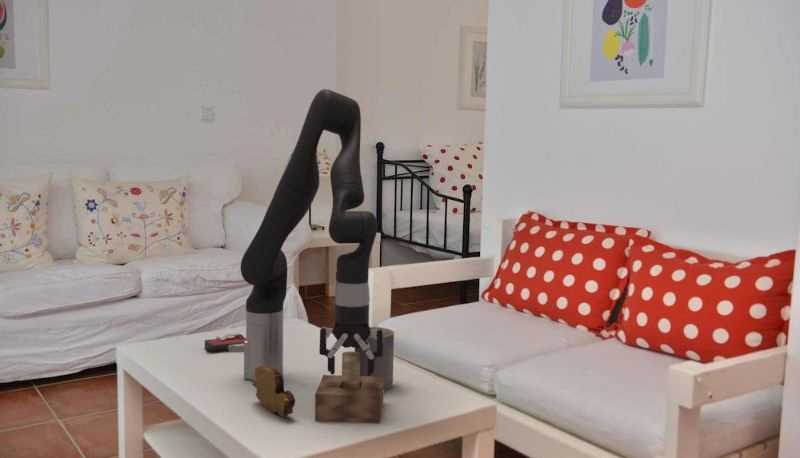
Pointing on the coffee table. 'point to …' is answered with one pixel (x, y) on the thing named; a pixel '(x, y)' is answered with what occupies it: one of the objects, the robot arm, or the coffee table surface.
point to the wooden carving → (273, 391)
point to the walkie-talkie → (226, 344)
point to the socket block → (349, 400)
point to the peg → (351, 369)
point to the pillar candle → (380, 358)
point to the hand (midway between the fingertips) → (351, 374)
